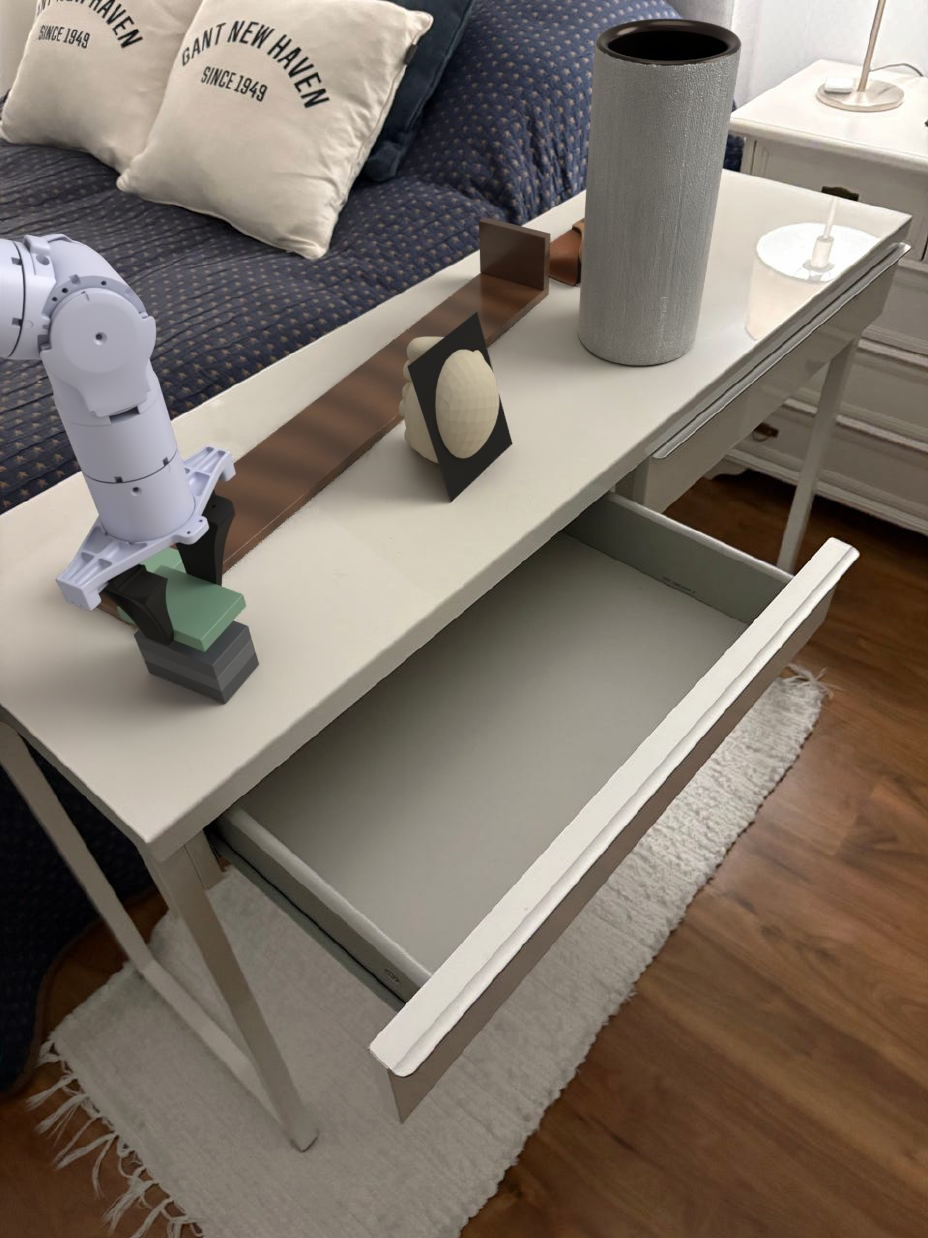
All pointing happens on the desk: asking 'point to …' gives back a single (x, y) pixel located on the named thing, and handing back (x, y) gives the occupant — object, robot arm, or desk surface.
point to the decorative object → (454, 404)
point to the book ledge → (373, 394)
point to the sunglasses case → (567, 255)
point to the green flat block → (164, 560)
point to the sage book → (197, 608)
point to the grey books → (204, 662)
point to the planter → (653, 184)
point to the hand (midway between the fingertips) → (184, 612)
